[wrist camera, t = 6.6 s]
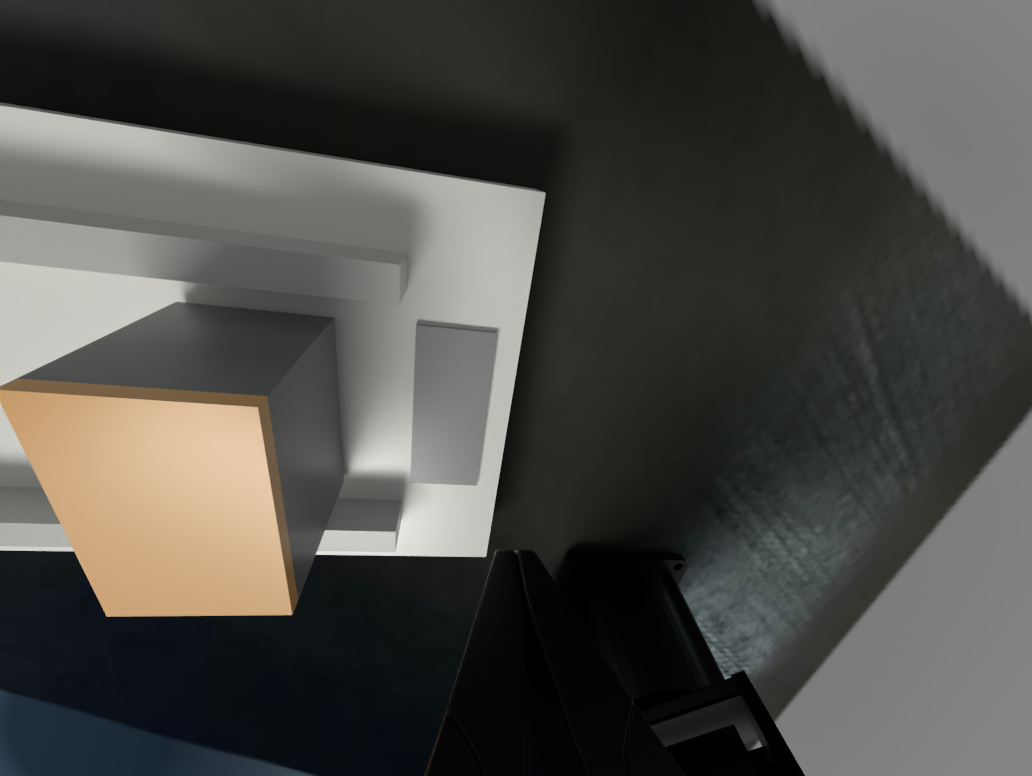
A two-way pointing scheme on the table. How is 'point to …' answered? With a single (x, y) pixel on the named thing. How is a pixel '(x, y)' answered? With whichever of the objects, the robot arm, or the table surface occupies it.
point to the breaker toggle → (190, 457)
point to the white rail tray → (280, 301)
